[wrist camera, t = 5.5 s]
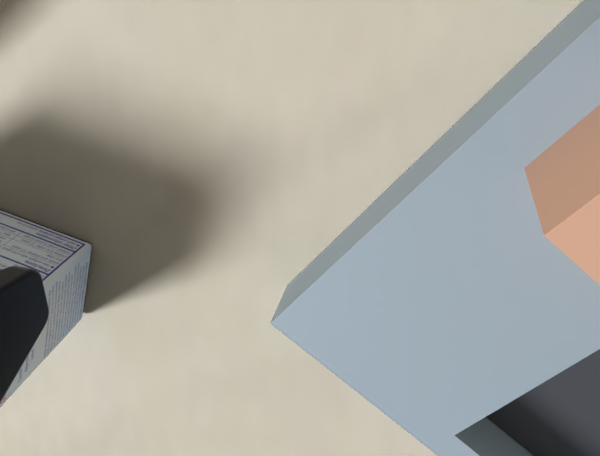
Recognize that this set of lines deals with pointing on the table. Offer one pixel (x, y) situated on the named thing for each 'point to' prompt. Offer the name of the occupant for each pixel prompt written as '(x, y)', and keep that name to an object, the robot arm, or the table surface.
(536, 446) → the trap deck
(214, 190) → the table surface
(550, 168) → the block
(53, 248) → the medicine box
